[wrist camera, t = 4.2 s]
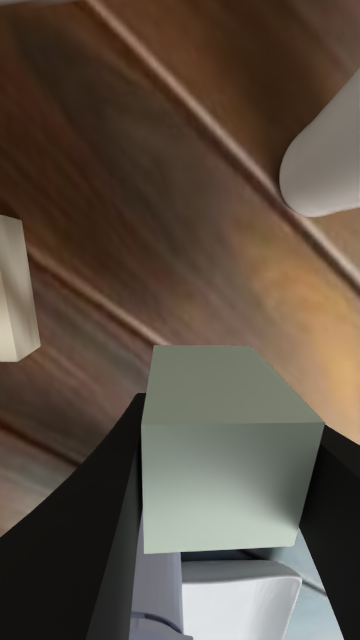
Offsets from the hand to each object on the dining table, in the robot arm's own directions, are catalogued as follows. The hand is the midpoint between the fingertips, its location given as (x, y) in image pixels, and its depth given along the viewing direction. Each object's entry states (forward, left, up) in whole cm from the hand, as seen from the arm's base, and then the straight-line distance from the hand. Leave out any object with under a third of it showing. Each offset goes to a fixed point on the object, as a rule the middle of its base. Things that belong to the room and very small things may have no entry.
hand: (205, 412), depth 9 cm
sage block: (0, 0, -2) cm, 2 cm away
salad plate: (-35, -2, -9) cm, 36 cm away
